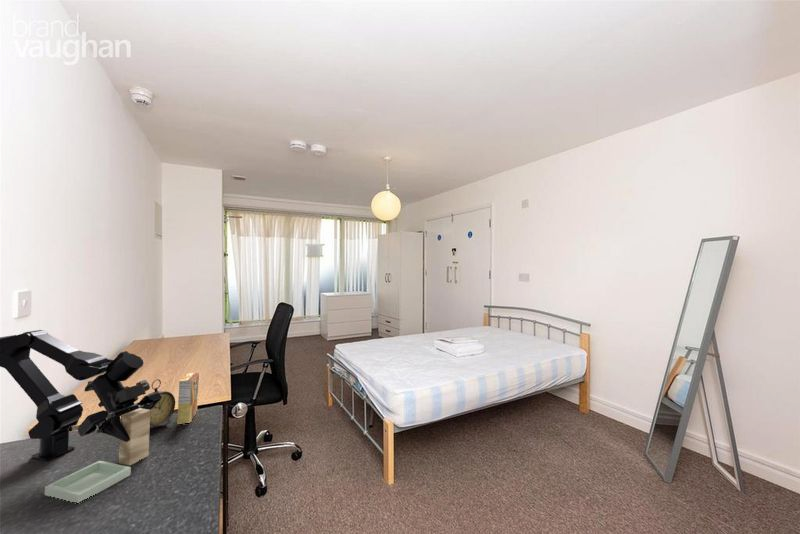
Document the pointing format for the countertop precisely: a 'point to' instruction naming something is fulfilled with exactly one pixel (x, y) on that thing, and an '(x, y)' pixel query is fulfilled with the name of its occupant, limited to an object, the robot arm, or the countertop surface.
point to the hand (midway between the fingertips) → (138, 436)
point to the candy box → (187, 398)
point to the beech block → (135, 436)
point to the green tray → (87, 481)
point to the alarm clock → (162, 408)
